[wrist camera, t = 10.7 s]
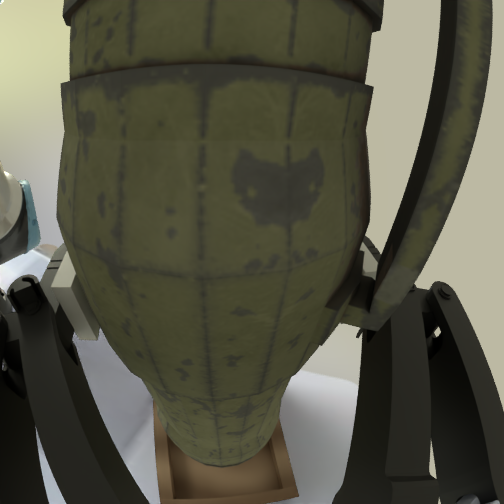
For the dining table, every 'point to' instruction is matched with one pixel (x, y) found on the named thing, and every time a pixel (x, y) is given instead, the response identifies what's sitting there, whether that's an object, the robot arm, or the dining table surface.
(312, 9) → the thermos
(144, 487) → the dining table surface
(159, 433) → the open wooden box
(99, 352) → the dining table surface
